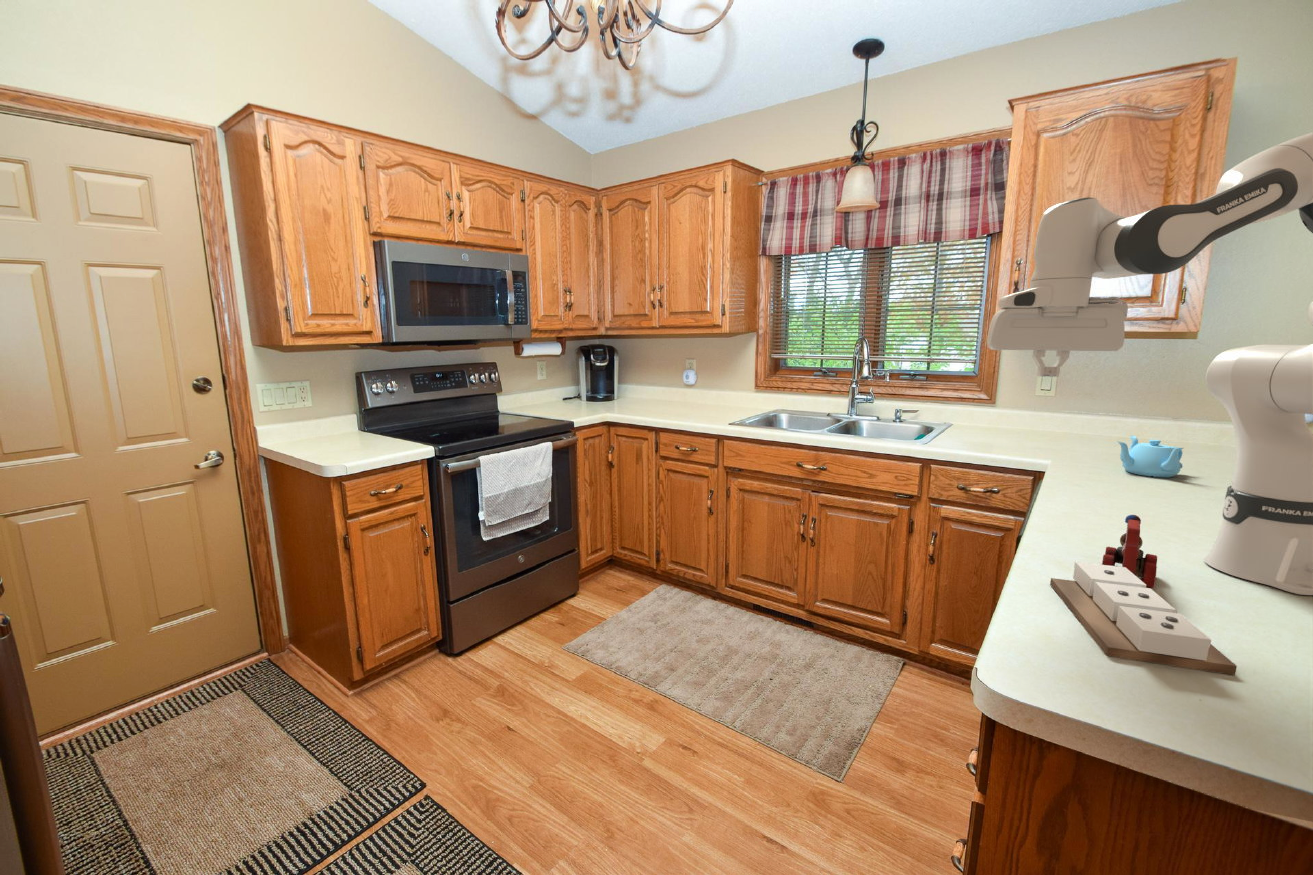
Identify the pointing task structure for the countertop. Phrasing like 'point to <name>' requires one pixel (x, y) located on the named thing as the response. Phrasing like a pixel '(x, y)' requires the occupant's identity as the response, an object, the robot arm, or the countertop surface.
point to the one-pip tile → (1103, 576)
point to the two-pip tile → (1127, 599)
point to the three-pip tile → (1163, 633)
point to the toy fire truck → (1133, 554)
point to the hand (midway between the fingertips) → (1047, 376)
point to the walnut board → (1116, 640)
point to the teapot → (1151, 458)
